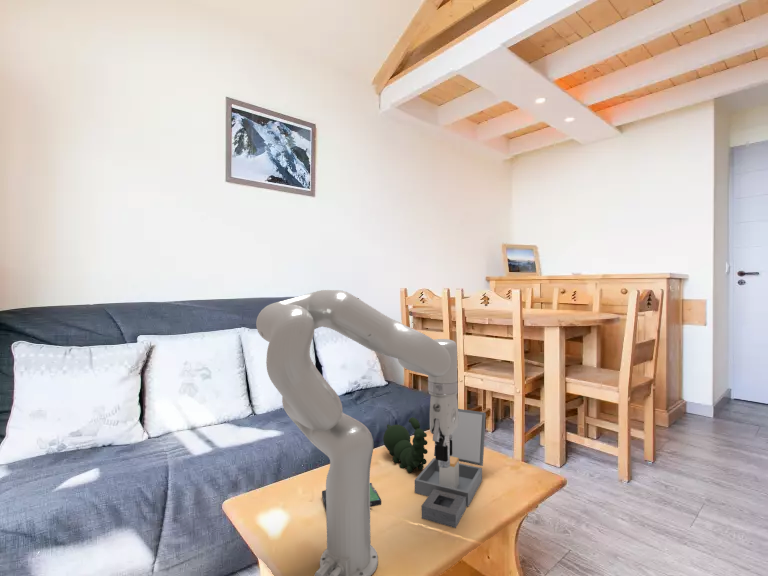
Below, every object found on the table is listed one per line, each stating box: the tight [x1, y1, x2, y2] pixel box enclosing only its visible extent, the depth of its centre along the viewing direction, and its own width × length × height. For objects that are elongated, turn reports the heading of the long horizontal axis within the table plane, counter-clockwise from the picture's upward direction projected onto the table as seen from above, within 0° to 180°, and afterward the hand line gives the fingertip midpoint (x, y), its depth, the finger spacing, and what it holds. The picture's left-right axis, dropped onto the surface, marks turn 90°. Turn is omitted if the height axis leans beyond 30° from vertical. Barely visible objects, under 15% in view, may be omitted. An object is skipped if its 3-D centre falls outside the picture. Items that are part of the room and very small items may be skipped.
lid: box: [433, 408, 487, 467], centre depth 124 cm, size 16×16×1 cm
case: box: [414, 457, 483, 508], centre depth 115 cm, size 16×16×4 cm
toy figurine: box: [382, 416, 429, 473], centre depth 132 cm, size 9×19×25 cm
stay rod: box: [438, 431, 450, 468], centre depth 101 cm, size 3×3×10 cm
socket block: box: [421, 489, 467, 529], centre depth 101 cm, size 9×9×4 cm
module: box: [439, 456, 460, 489], centre depth 115 cm, size 4×4×8 cm
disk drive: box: [321, 482, 382, 511], centre depth 108 cm, size 10×3×15 cm
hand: (444, 456), depth 101 cm, fingers closed on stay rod, 3 cm apart
